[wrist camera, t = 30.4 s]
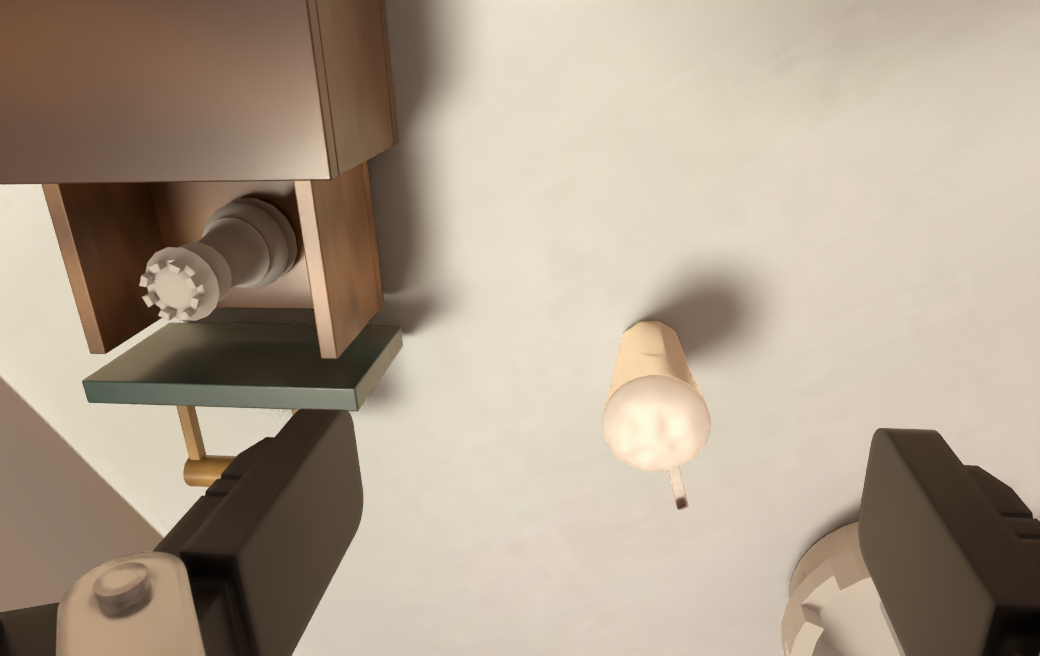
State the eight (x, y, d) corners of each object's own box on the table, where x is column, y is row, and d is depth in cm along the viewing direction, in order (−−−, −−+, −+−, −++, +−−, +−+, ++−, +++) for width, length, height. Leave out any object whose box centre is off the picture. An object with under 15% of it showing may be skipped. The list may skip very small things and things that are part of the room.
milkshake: (629, 409, 40) (630, 522, 31) (593, 324, 39) (584, 418, 29) (710, 384, 39) (736, 495, 30) (677, 295, 37) (694, 384, 28)
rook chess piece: (312, 273, 37) (236, 335, 30) (234, 286, 38) (142, 349, 31) (285, 187, 36) (198, 231, 28) (203, 203, 37) (99, 249, 29)
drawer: (413, 435, 42) (372, 514, 35) (194, 427, 44) (117, 501, 37) (372, 61, 34) (310, 71, 27) (109, 70, 36) (-9, 82, 29)
